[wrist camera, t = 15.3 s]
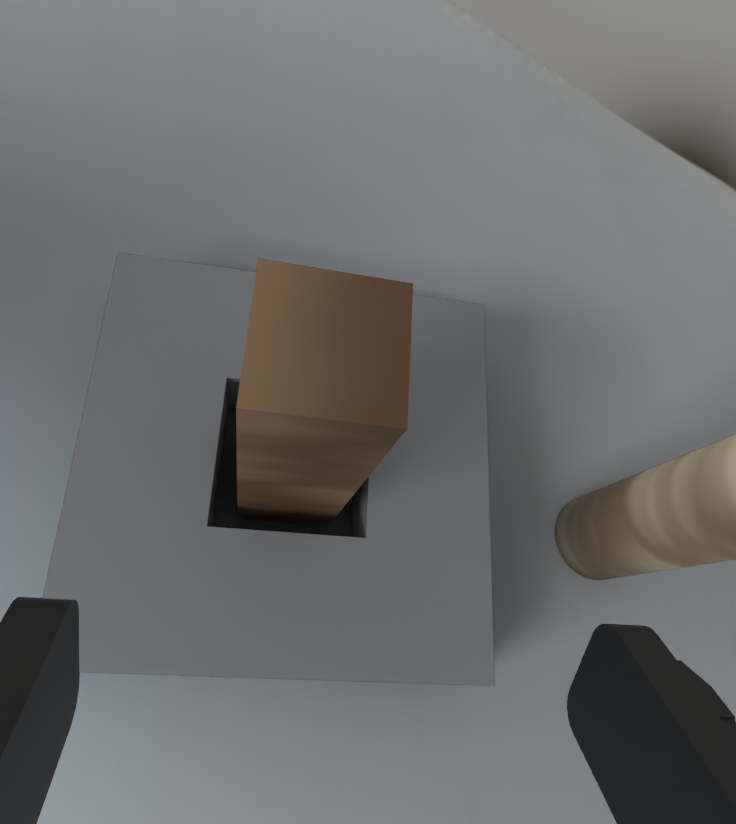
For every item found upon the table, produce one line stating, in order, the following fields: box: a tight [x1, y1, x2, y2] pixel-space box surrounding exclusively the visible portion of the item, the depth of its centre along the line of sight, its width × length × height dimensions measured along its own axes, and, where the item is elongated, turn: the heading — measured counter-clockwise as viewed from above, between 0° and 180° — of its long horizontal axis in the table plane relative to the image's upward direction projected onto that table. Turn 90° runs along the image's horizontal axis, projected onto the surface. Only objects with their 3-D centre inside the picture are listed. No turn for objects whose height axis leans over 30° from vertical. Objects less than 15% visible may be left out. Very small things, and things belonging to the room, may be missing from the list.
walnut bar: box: [236, 259, 413, 527], centre depth 18 cm, size 3×3×12 cm
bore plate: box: [42, 252, 495, 686], centre depth 22 cm, size 14×14×3 cm
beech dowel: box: [555, 434, 736, 580], centre depth 21 cm, size 3×3×10 cm
